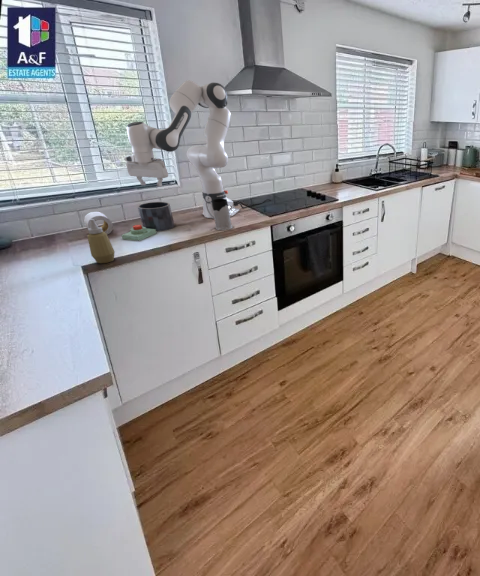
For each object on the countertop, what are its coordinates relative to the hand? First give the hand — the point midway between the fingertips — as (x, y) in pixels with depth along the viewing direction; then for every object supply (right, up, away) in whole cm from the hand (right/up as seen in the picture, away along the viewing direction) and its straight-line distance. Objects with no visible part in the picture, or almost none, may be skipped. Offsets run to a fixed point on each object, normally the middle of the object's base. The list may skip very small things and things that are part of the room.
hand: (151, 185), depth 190 cm
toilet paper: (-23, -25, -3) cm, 35 cm away
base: (-3, -27, -5) cm, 27 cm away
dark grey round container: (-1, -20, +8) cm, 22 cm away
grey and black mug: (+30, -20, +12) cm, 38 cm away
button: (-3, -23, -7) cm, 25 cm away
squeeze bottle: (+2, -42, -34) cm, 54 cm away
